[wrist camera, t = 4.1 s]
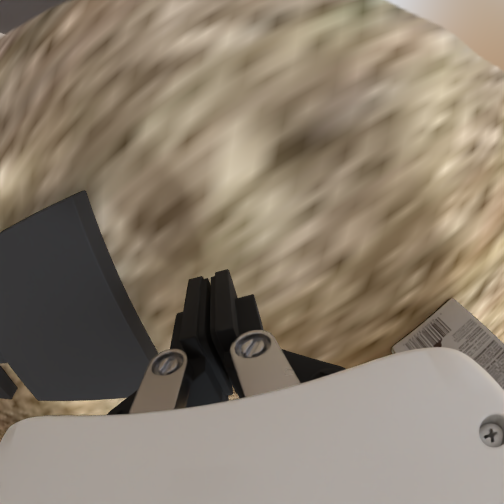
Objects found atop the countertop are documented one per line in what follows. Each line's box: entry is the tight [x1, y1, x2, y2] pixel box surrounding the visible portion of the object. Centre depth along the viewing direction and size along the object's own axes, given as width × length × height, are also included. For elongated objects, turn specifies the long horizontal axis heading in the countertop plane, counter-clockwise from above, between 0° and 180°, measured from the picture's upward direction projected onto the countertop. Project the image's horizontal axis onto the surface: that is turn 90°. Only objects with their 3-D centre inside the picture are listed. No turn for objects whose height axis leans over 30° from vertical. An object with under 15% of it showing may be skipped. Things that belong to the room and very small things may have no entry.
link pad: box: [0, 191, 158, 401], centre depth 13 cm, size 12×14×2 cm
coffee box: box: [391, 298, 504, 390], centre depth 12 cm, size 9×6×16 cm
